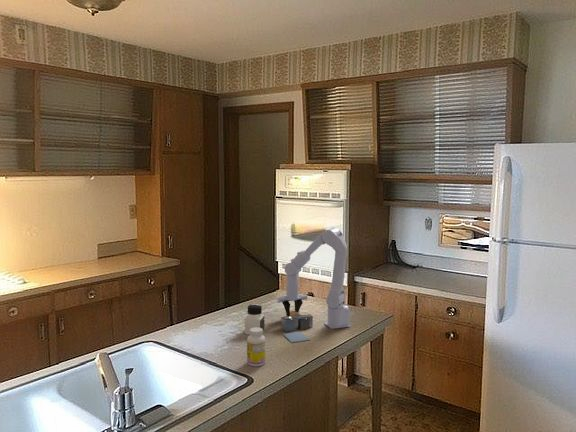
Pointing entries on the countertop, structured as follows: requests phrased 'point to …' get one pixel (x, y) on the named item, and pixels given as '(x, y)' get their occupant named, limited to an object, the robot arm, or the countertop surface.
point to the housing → (294, 322)
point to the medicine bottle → (254, 318)
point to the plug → (300, 320)
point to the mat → (296, 337)
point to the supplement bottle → (256, 347)
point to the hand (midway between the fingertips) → (292, 315)
